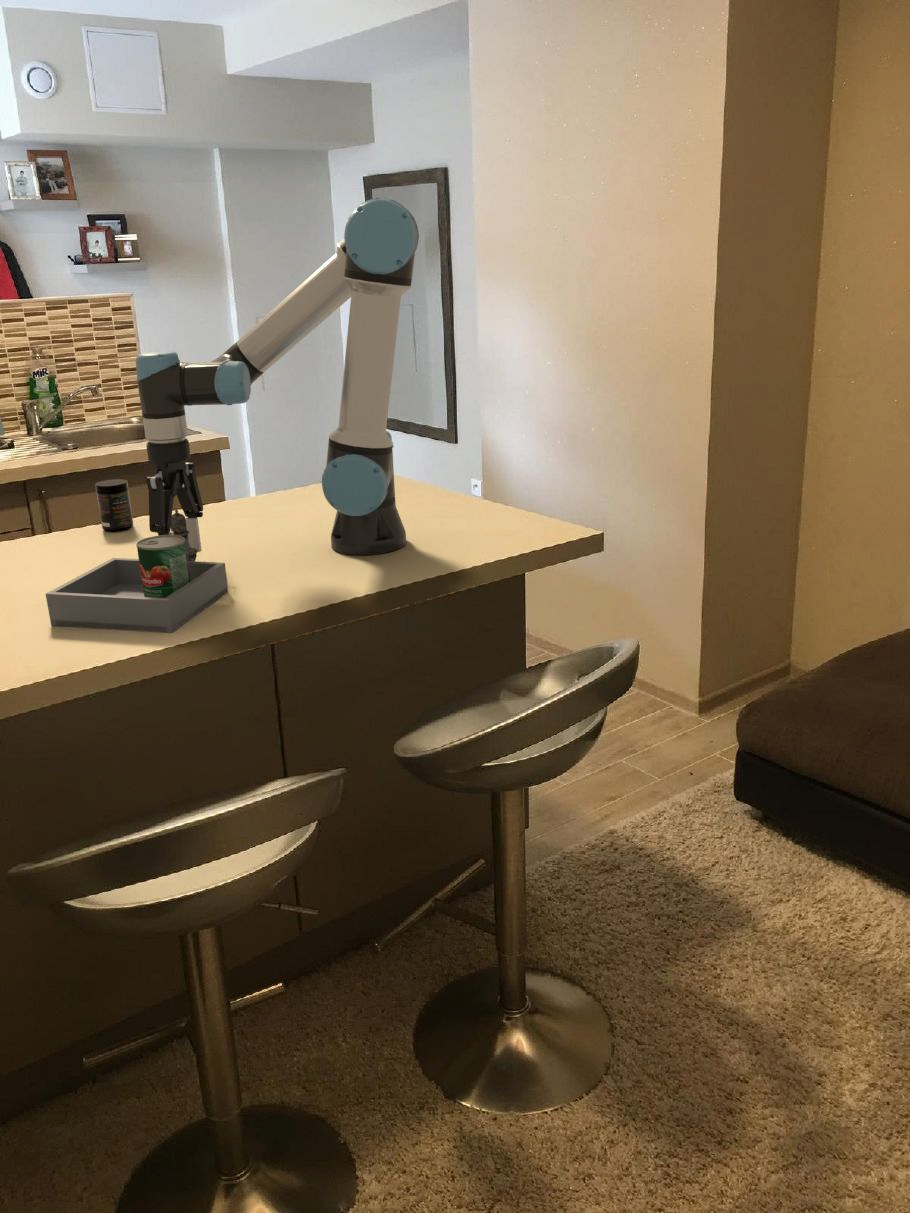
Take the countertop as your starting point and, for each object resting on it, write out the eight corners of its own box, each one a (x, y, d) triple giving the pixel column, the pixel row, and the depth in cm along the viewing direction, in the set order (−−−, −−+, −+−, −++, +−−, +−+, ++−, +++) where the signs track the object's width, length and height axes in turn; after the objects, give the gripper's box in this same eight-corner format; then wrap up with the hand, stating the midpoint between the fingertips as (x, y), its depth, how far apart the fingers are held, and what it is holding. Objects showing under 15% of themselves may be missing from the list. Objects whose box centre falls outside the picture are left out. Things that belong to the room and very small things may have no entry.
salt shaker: (191, 575, 189) (183, 513, 185) (162, 574, 190) (154, 512, 186) (205, 566, 195) (197, 505, 191) (176, 565, 196) (168, 504, 192)
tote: (228, 592, 179) (224, 562, 177) (172, 633, 161) (167, 600, 159) (117, 586, 184) (113, 557, 182) (51, 625, 166) (45, 593, 164)
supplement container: (140, 526, 225) (134, 480, 221) (119, 534, 219) (111, 487, 216) (117, 523, 228) (110, 478, 224) (95, 531, 222) (88, 485, 218)
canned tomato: (199, 595, 175) (191, 534, 171) (185, 611, 167) (176, 547, 163) (154, 596, 175) (146, 534, 171) (138, 611, 168) (128, 548, 164)
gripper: (177, 428, 195) (191, 541, 202) (116, 450, 175) (134, 574, 183) (212, 429, 193) (226, 543, 201) (155, 451, 173) (172, 576, 181)
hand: (182, 558), depth 192 cm, fingers open, 9 cm apart
